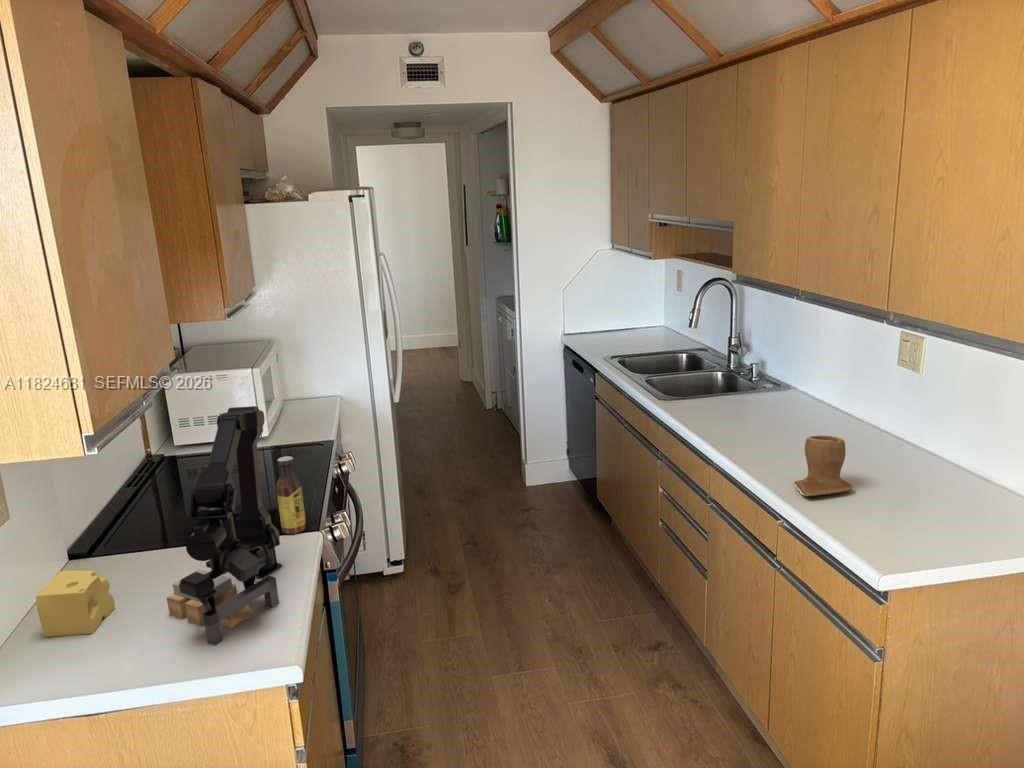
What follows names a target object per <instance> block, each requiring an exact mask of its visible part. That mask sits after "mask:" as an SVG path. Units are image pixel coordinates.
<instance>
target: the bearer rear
mask: <svg viewBox="0 0 1024 768" xmlns="http://www.w3.org/2000/svg"><path fill="white" fill-rule="evenodd" d="M190 600H191V599H189V598H185V597H182V596H179V595H176V594H174V592H173V593H171V594H169V595H168V596H166V602H167V607H168V613H169V616H170V617H173V618H176V619H180V620H183V621H184V620H185V619H187V613H186V608H185V603H186V602H188V601H190Z"/></svg>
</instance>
